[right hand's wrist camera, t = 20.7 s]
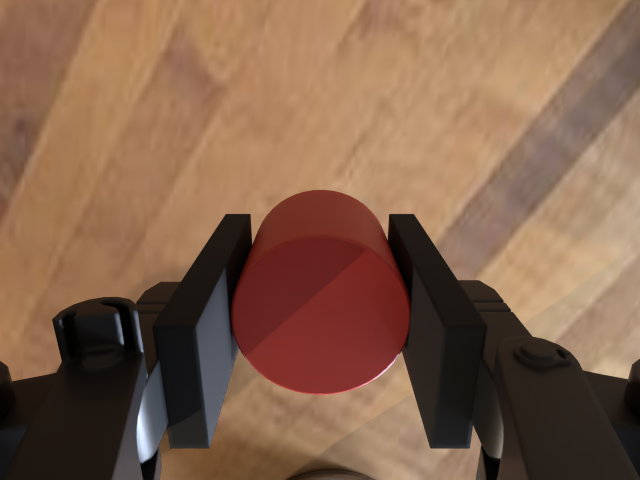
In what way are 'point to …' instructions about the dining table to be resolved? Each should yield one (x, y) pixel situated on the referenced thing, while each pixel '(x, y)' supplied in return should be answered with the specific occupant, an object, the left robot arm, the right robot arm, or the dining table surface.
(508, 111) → the dining table surface
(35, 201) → the dining table surface
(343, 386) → the can
